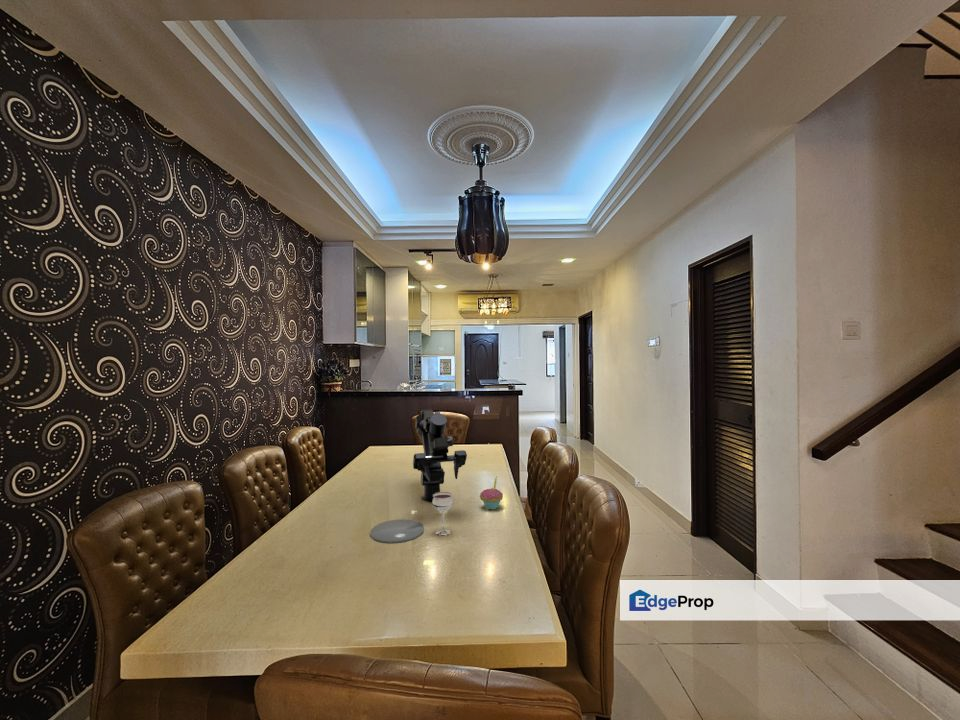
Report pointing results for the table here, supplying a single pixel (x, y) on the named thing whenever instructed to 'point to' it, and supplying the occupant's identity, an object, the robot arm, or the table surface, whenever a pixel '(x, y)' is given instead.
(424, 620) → the table surface
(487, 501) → the cupcake
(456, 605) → the table surface
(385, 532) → the slate plate
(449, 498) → the wineglass
